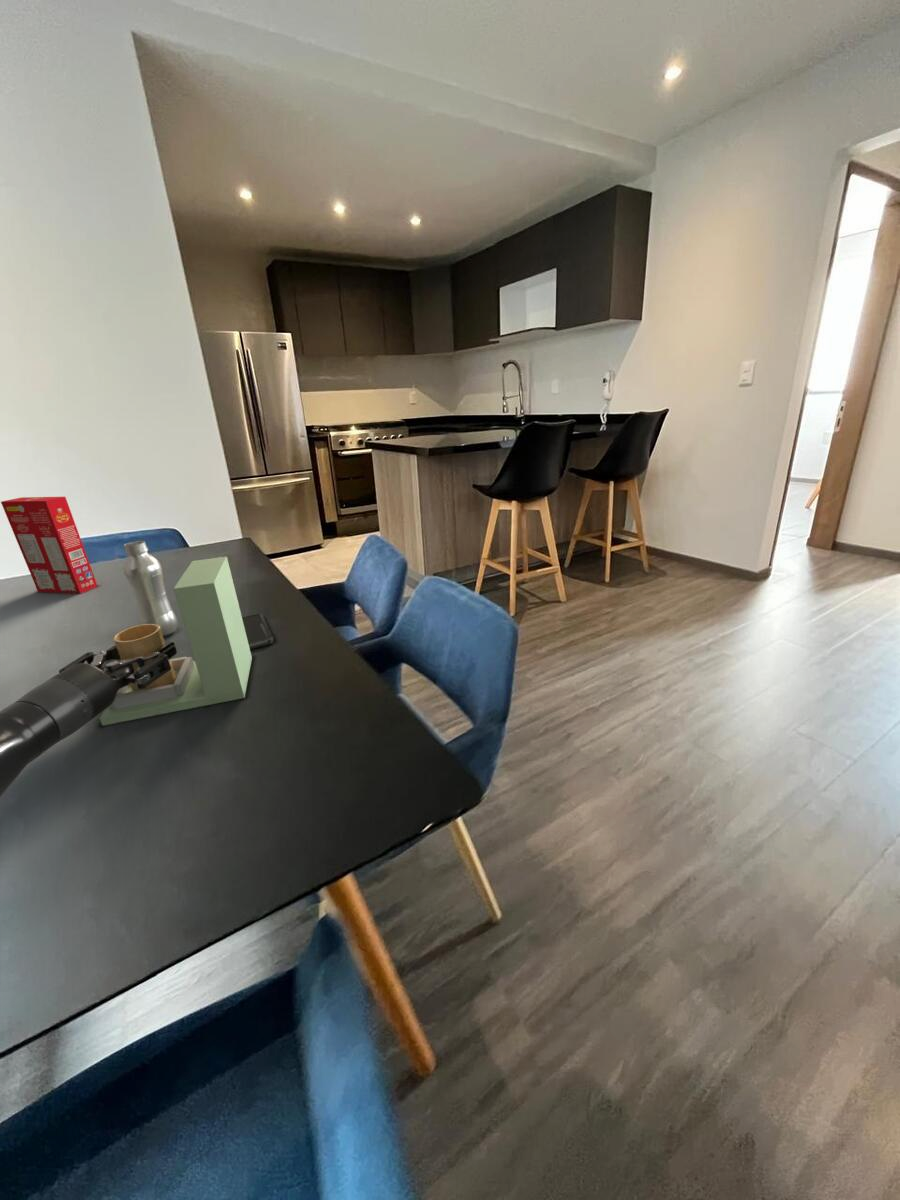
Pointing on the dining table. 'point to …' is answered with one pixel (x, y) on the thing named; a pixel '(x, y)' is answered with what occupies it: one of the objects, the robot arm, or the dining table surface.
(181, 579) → the coffee maker
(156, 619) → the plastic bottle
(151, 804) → the dining table surface
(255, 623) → the phone
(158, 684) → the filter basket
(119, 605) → the dining table surface
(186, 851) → the dining table surface
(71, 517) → the food packaging
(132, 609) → the dining table surface
